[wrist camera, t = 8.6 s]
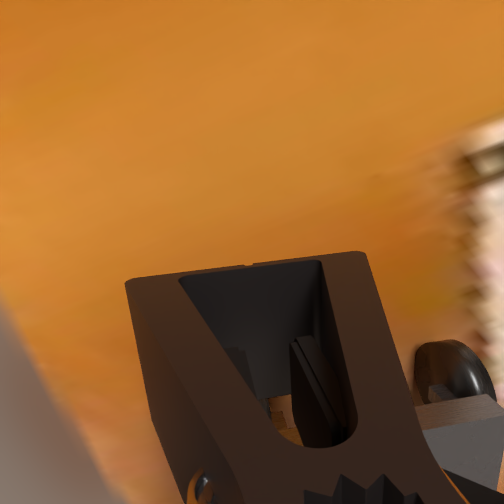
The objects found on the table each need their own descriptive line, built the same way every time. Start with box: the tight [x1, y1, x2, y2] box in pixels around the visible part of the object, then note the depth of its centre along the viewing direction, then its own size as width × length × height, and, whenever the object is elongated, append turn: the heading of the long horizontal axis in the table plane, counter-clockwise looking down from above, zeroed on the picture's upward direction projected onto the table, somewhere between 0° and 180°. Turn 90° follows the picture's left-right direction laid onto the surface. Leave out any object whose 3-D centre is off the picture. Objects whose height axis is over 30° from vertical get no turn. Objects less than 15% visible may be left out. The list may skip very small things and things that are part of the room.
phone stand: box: [125, 251, 467, 504], centre depth 9 cm, size 9×6×12 cm, turn 94°
